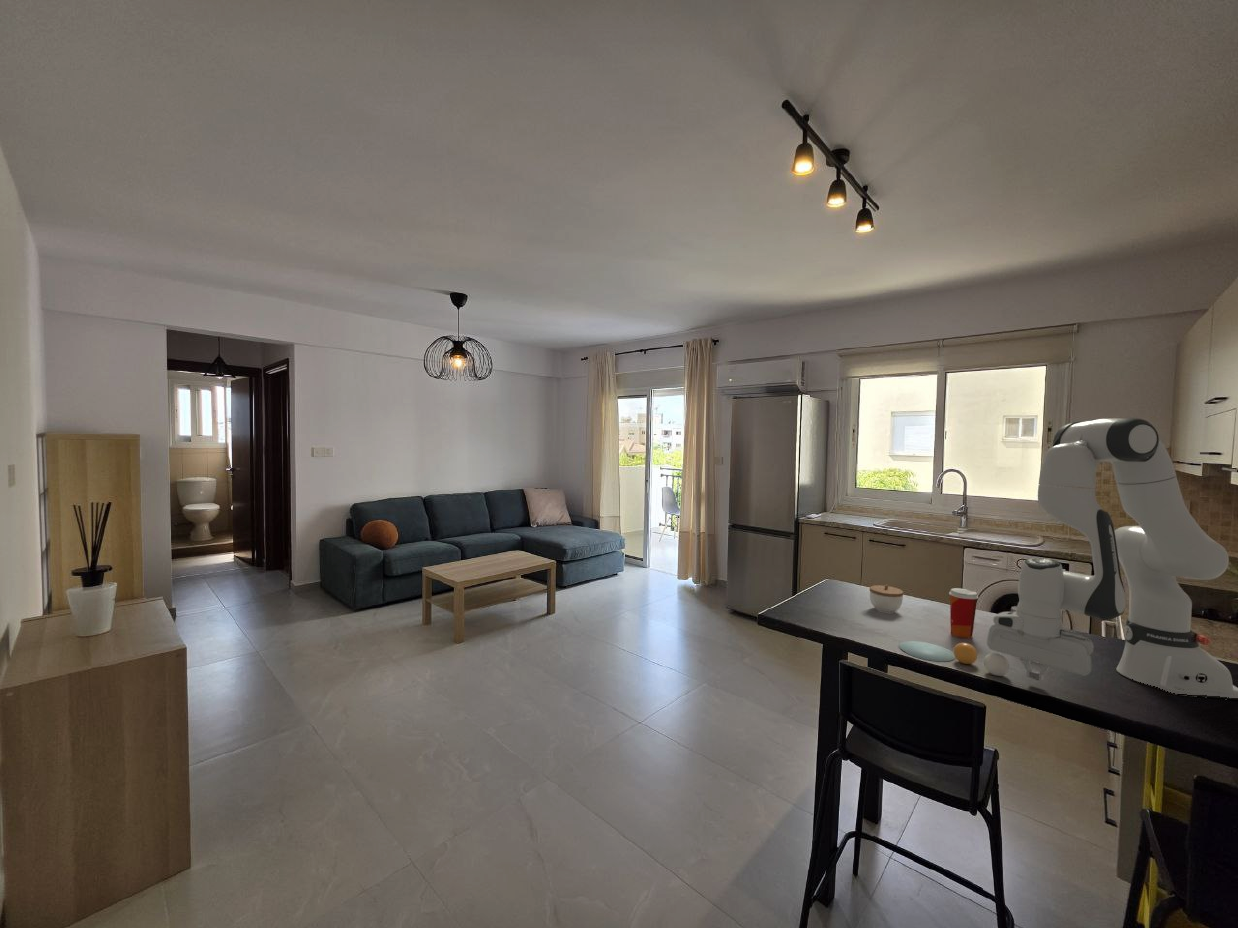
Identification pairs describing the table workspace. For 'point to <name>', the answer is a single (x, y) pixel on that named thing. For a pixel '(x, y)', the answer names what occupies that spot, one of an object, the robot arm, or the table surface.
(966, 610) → the paper cup
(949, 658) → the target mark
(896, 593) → the lidded jar
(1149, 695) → the table surface
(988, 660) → the cue ball
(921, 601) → the table surface
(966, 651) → the object ball
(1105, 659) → the table surface
